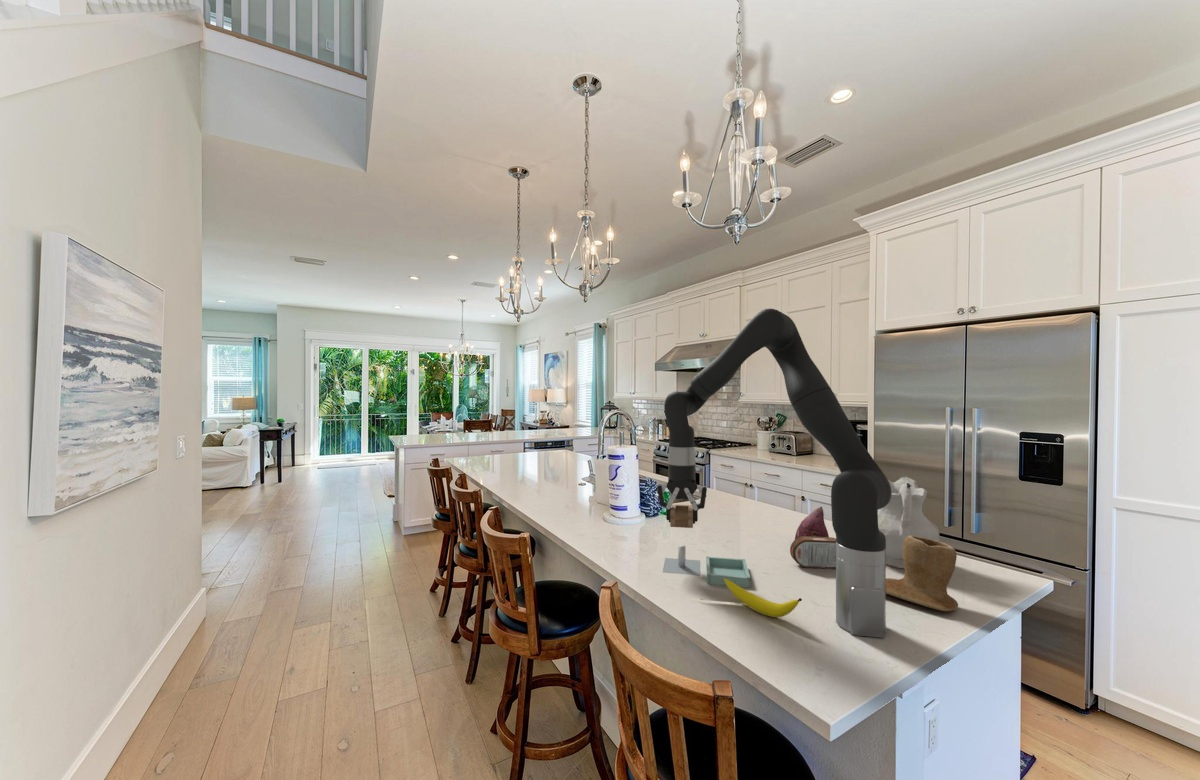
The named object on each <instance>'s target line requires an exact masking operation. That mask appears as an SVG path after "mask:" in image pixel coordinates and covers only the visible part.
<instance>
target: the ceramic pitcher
mask: <svg viewBox="0 0 1200 780" xmlns="http://www.w3.org/2000/svg"><path fill="white" fill-rule="evenodd" d="M888 481H889V483H890V486H891V491H892V494H891V499H890V501H889V503H888V504H887V505H886V506H885V507H883V508H881V509H879V510H878V528H879V531H881V532H882V533H883V534H884V535H885V538H886V565H887V566H890V567H893V568H895V569H896V568H897V569H904V563H903V556H902V548H903V542H904V540H905V538H906V537H907V536H909V535H912V536H917V537H923V538H927V539H931V540H935V541H939V542H940V531H939V528H938V526H937V525H936V524H935V523H934V522H933V521H931V520H930V519H928V517H926V516H925V515H924V512H923V504H924V501H925V500H926V497H927V494H928V491H927V489H925V488H922V487H919V486H918V484H917V480H915V479H912V478H910V477H909V476H903V475H901V476H900V477H899V479H897V480H896V481H891V480H890V479H888Z"/></svg>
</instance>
